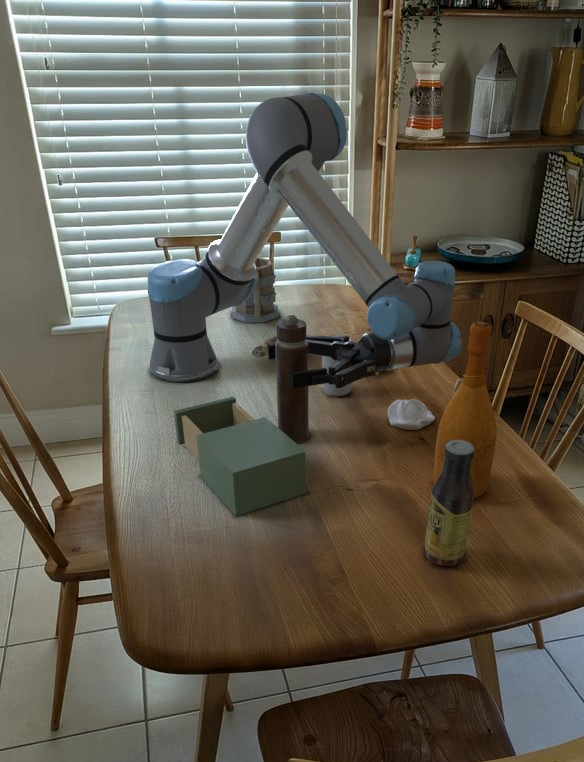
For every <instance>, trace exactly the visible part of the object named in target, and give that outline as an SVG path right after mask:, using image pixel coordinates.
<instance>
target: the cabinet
mask: <svg viewBox="0 0 584 762" xmlns="http://www.w3.org/2000/svg"><path fill="white" fill-rule="evenodd" d="M197 444H198V454H199V461H198V462H199V473H200V477H201V478H202V480H203V481H204V482H205V483H206V484H207V485H208V486H209V487H210V488H211V490H212V491H213V492H214V493H215V494H216V495H217V497H218V498H219V499H220V501H222V502H223V503H224V504H225V506H226V507H227V508H228V509H229V510H230V511H231V512H232V514H234V516H236V517H238V516H241V515H244V514H246V513H250V512H253V511H257V510H260V509H261V508H262V509H263V508H265V507H268V506H271V505H274V504H277V503H280V502H283V501H286V500H290V499H293V498H296V497H299V496H302V495H305V494H306V493H307V477H306V476H307V473H306V472H307V469H306V468H307V465H306V461H307V459H306V450H304V449H303V448H302V447H301V446H300V445H298V443H295V442H294V441H293V440H291V439H290V438H289V437H288V436H287V435H286V434H285V433H283V432H282V431H281V430H280V429H279V428H278V426H276V425H275V424H274V423H273V422H272V421H270V420H269V418H267V416H263V417H261V418H260V417H259V418H257V419H255V420H253V421H249V422H245V423H241V424H238V425H234V426H230V427H226V428H222V429H219V430H215V431H211V432H207V433H204V434H200V435H197Z"/></svg>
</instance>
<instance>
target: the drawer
mask: <svg viewBox="0 0 584 762" xmlns="http://www.w3.org/2000/svg"><path fill="white" fill-rule="evenodd" d="M173 418H174V426H175V434H176V442H177V444H178V445H179V446H181V445H184V447H185V448H186V449H187V450H188V451H189V452H190V453H191V454H192V455H193V456H194V458H195V459H196V460H197V461H198V462H199V454H198V444H197V435H200V434H204V433H207V432H211V431H215V430H219V429H222V428H226V427H230V426H234V425H238V424H241V423H245V422H249V421H253V420H256V419H255V418H254V417H253V416H252V415H251V414H250V413H249V412H247V411H246V410H245V409H244V408H243V407H242V406H240V404H238V403H237V398H236V397H235V396H229V397H226V398H221V399H218V400H213V401H209V402H205V403H201V404H196V405H193V406H190V407H183V408H180V409H177V410H173Z"/></svg>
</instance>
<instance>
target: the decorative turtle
mask: <svg viewBox="0 0 584 762" xmlns="http://www.w3.org/2000/svg"><path fill="white" fill-rule="evenodd" d="M277 341H278V339H277V335H275V336H273V337H270V338H267V339H265V340H264V341H263V344H262V345H257V346H255V347H253V349H252V351H251V354H252V356H254V357H257V358H264V357H268V345H271V344H275V343H276V342H277ZM310 355H311V356H312V355H313V356H315V355H314V354H310ZM274 360H275V361H276V359H274Z"/></svg>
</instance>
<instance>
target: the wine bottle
mask: <svg viewBox="0 0 584 762" xmlns="http://www.w3.org/2000/svg"><path fill="white" fill-rule="evenodd" d="M492 332H493V329H492V325H491V324H489V323H488V322H485V321H476V322H474V323H472V324H471V326H470V327H469V340H468V341H469V342H468V344H467V351H468V359H467V364H466V368H465V372H464V374H462V376H463V377H461V378H457V379H456V382H455V384H454V387H453V392H452V393H454V394H453V396H452V397H451V399H450V400H449V402H448V404H447V406H446V408H445V410H444V411H443V414H442V416H441V419H440V421H439V426H438V429H437V435H436V443H435V453H434V466H433V467H434V468H433V486H434V485H435V483H436V481H437V479H438V478H439V476H440V474H441V472H442V470H443V467H444V460H445V454H444V451H445V446H446V444H447V443H448V442H450V441H453V440H463V441H466V442H469V443H471V444H472V445H473V447H474V457H473V458H472V460H471V466H470V474H469V476H470V478H471V479H472V481H473V484H474V489H475V492H474V498H473V499H477V498H479V497H480V496H483V494H485V492H486V491H487V489H488V486H489V482H490V478H491V473H492V467H493V461H494V456H495V450H496V443H497V428H498V427H497V419H496V415H495V414H496V413H495V411H494V407H493V403H492V400H491V397H490V394H489V392H488V387H487V383H486V372H485V371H486V370H485V368H486V361H487V354H488V353H489V351H490V340H491V336H492Z"/></svg>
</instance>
